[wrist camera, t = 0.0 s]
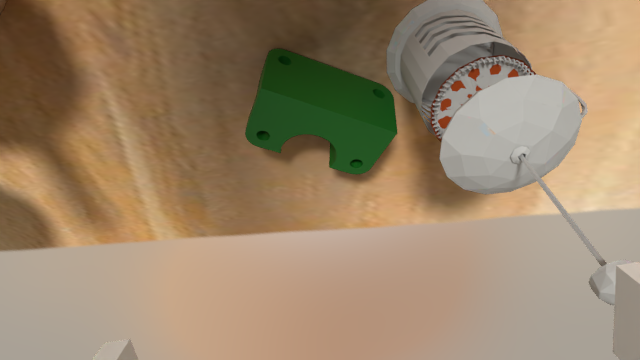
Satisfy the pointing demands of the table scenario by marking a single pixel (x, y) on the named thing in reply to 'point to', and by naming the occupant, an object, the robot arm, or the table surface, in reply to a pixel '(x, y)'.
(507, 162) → the french press
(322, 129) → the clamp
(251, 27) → the table surface
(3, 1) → the cylinder
